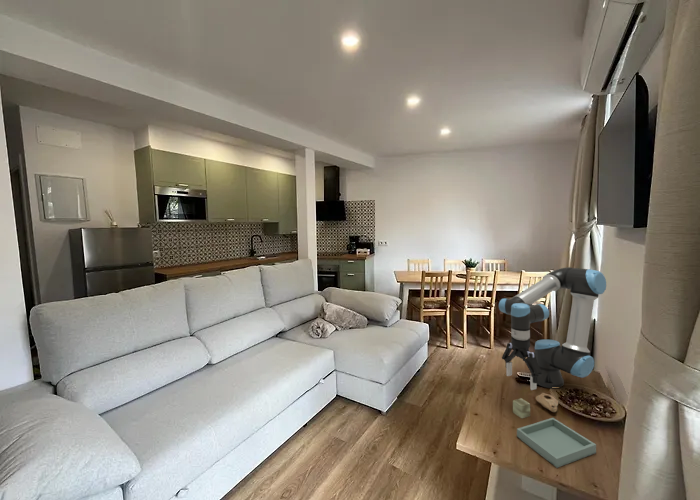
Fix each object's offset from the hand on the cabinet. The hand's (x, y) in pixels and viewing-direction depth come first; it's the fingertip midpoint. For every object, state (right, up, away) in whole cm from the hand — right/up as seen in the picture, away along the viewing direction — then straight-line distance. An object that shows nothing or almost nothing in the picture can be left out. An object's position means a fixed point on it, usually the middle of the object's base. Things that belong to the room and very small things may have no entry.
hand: (520, 382), depth 144 cm
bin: (+3, -17, -19) cm, 26 cm away
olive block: (+1, -16, +1) cm, 16 cm away
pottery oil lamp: (+16, -15, +5) cm, 22 cm away
